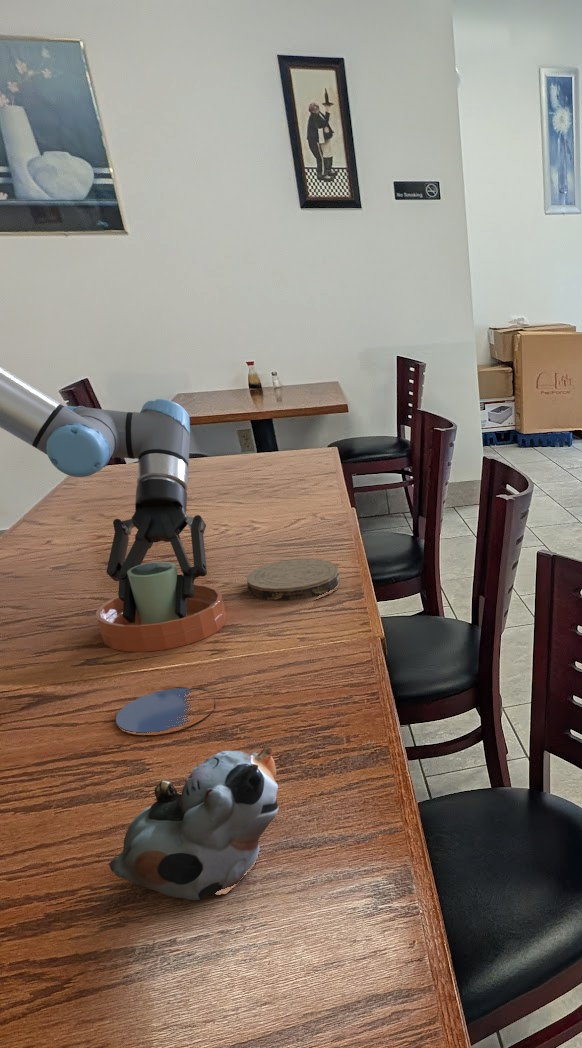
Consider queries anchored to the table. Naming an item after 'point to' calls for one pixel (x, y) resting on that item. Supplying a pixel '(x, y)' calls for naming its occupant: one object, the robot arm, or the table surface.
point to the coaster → (154, 711)
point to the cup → (154, 591)
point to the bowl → (163, 624)
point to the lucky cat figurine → (202, 827)
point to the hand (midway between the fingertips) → (154, 617)
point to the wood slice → (293, 579)
